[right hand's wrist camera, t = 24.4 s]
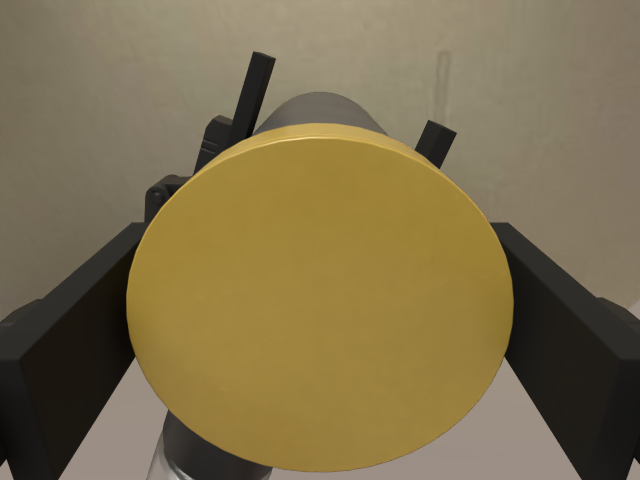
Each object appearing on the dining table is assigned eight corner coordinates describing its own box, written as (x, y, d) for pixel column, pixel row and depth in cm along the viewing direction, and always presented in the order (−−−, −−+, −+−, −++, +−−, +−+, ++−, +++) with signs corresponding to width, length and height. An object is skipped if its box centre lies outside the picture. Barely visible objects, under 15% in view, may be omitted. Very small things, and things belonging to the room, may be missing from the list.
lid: (236, 53, 10) (215, 50, 8) (549, 222, 12) (597, 255, 9) (115, 345, 13) (77, 397, 11) (378, 450, 14) (387, 513, 12)
